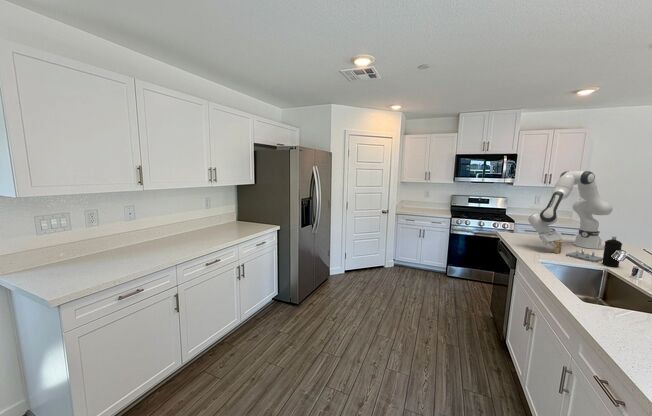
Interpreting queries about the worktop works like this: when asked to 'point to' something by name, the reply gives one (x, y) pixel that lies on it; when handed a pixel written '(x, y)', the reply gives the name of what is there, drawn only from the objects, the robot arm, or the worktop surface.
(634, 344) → the worktop surface
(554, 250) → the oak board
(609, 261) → the aerosol can
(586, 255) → the peg base
